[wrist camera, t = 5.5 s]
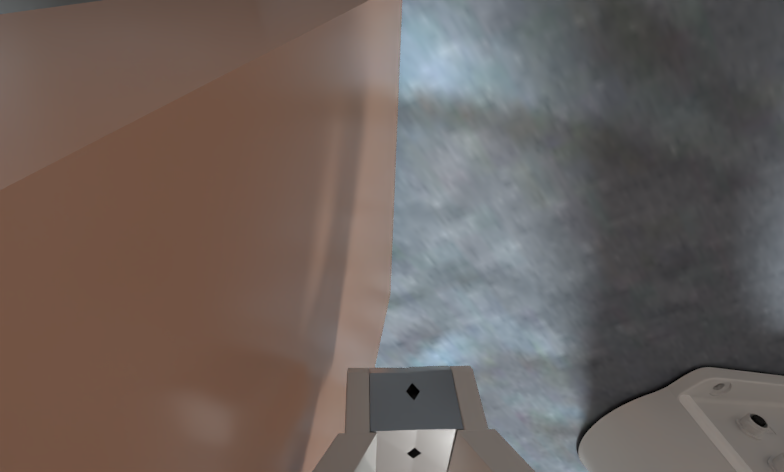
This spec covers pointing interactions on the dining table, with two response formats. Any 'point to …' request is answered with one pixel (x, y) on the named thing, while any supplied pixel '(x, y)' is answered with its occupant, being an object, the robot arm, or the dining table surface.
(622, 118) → the dining table surface
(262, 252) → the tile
